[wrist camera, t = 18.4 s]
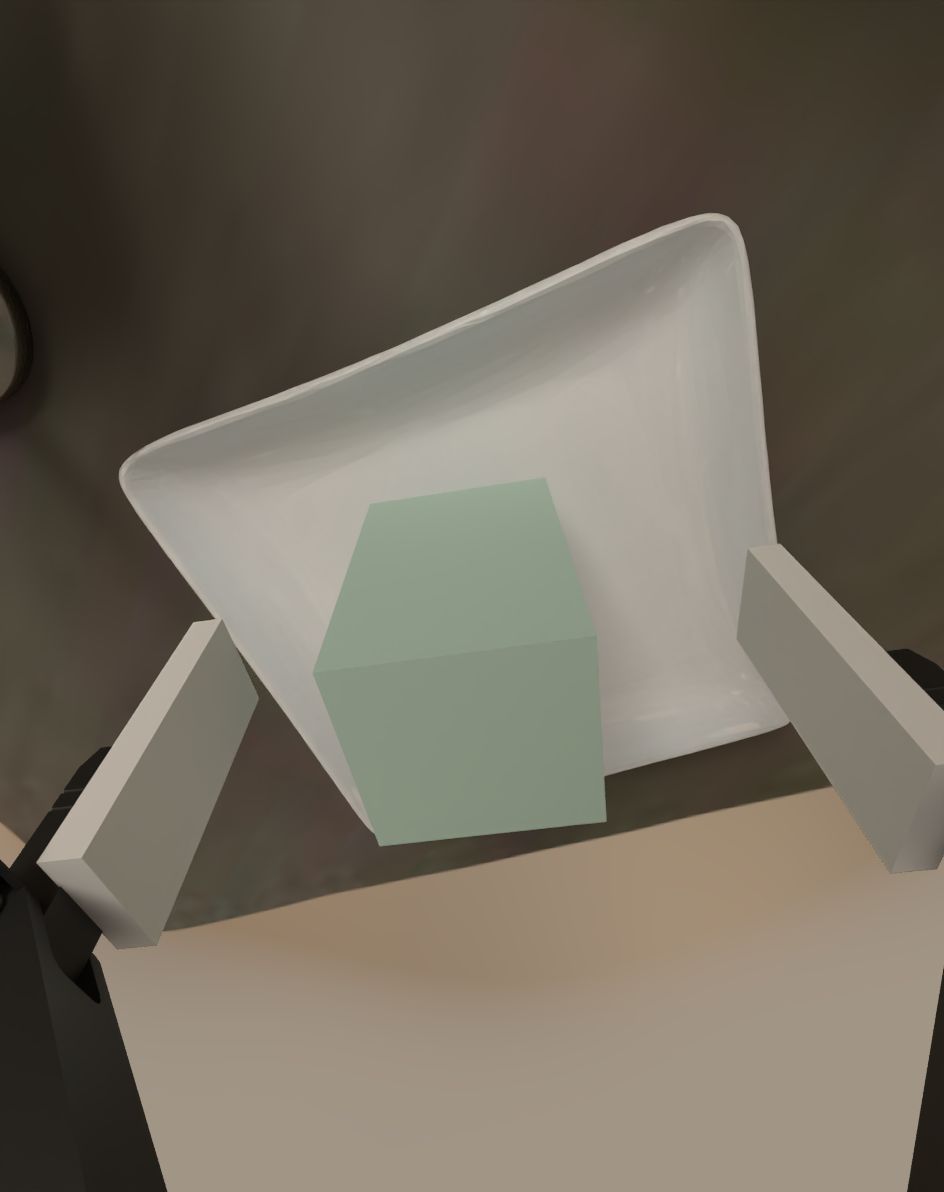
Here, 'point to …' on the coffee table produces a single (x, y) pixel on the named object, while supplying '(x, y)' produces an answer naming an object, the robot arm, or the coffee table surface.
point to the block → (466, 668)
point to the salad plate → (509, 454)
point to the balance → (13, 340)
